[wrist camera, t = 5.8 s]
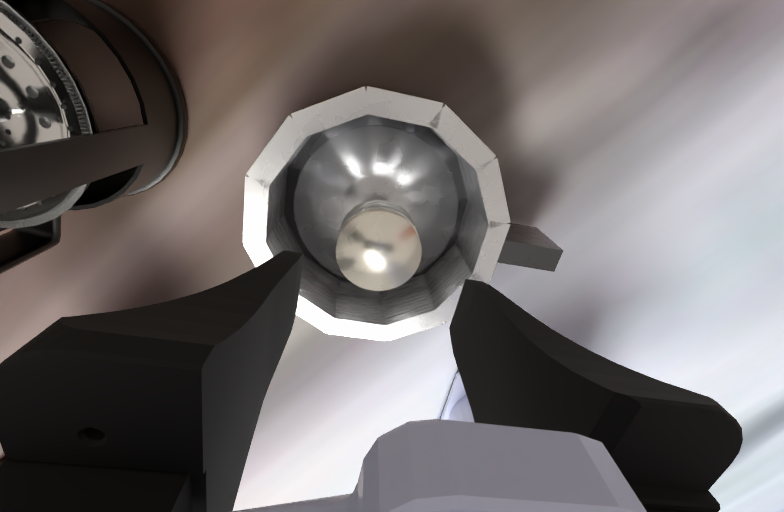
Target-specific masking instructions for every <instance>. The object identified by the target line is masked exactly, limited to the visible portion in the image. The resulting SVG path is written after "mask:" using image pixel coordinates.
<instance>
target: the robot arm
mask: <svg viewBox="0 0 784 512" xmlns="http://www.w3.org/2000/svg"><path fill="white" fill-rule="evenodd" d="M303 254H304V253H299V252H293V251H286V250H284V251H282V252H280V253H278V254H277V255H275V256H274V257H272V258H270V259H269V260H267V261H265V262H264V263H262V264H260V265H259V266H257V267H255V268H253V269H252V270H250V271H248V272H246V273H244V274H242V275H240V276H238V277H236V278H234V279H232V280H230V281H228V282H225V283H223V284H221V285H218V286H216V287H213V288H210V289H208V290H205V291H202V292H199V293H196V294H193V295H189V296H186V297H182V298H178V299H175V300H171V301H168V302H164V303H159V304H155V305H150V306H145V307H140V308H134V309H128V310H122V311H115V312H107V313H99V314H90V315H81V316H72V317H61V318H60V319H59V320H57V321H56V322H54V323H53V324H52V325H50V326H49V327H48V328H46V329H45V330H44V331H43V332H41V333H40V334H39V335H37V336H36V337H35V338H33V339H32V340H31V341H29V342H28V343H27V344H25V345H24V346H23V347H21V348H20V349H19V350H17V351H16V352H15V353H13V354H12V355H11V356H9V357H8V358H7V359H6V360H4V361H3V362H2V363H1V364H0V443H1V446H2V448H3V451H4V454H5V457H6V460H5V461H4V462H3V463H2V464H1V465H0V512H718V511H719V510H720V504H719V503H718V502H717V501H716V499H715V498H714V497H713V496H712V495H711V493H710V492H709V491H708V490H709V489H710V487H711V486H712V485H713V484H714V483H715V482H716V481H717V479H718V478H719V477H720V476H721V475H722V474H723V473H724V471H725V470H726V469H727V468H728V467H729V466H730V464H731V463H732V462H733V460H734V459H735V458H736V456H737V455H738V453H739V451H740V448H741V444H742V440H743V438H742V428H741V427H740V425H739V423H738V422H737V420H736V419H735V418H734V417H733V416H732V415H730V414H729V413H728V412H727V411H726V410H725V409H724V408H723V407H722V406H721V405H720V404H718V403H717V402H716V401H715V400H713V399H711V398H709V397H707V396H704V395H701V394H698V393H695V392H692V391H689V390H686V389H683V388H680V387H677V386H673V385H670V384H667V383H664V382H662V381H659V380H656V379H654V378H651V377H648V376H646V375H643V374H641V373H638V372H636V371H633V370H631V369H628V368H626V367H624V366H621V365H619V364H617V363H615V362H612V361H610V360H608V359H606V358H604V357H602V356H600V355H598V354H596V353H593V352H591V351H589V350H588V349H586V348H584V347H582V346H580V345H578V344H576V343H575V342H573V341H571V340H569V339H568V338H566V337H564V336H562V335H561V334H559V333H557V332H556V331H554V330H552V329H551V328H549V327H548V326H546V325H545V324H543V323H542V322H540V321H539V320H537V319H536V318H534V317H533V316H531V315H530V314H529V313H527V312H526V311H524V310H523V309H522V308H520V307H519V306H518V305H516V304H515V303H514V302H512V301H511V300H510V299H508V298H507V297H505V296H504V295H503V294H501V293H500V292H499V291H497V290H496V289H494V288H493V287H491V286H490V285H488V284H487V283H485V282H483V281H477V280H471V279H465V282H464V285H463V288H462V291H461V294H460V297H459V300H458V303H457V306H456V309H455V312H454V316H453V319H452V322H451V325H450V335H451V342H452V348H453V354H454V357H455V360H456V364H457V367H458V370H459V372H458V373H457V374H456V377H455V379H454V382H453V385H452V388H451V391H450V393H449V396H448V399H447V402H446V405H445V407H444V410H443V413H442V416H441V419H433V420H421V421H410V422H407V423H405V424H403V425H401V426H399V427H397V428H395V429H393V430H391V431H389V432H387V433H385V434H383V435H382V436H380V437H378V438H377V440H376V441H375V443H374V444H373V446H372V447H371V449H370V450H369V452H368V453H367V455H366V456H365V458H364V460H363V464H362V468H361V472H360V475H359V479H358V483H357V485H356V487H355V490H354V492H353V493H352V494H346V495H339V496H332V497H326V498H319V499H312V500H306V501H299V502H292V503H286V504H279V505H272V506H266V507H259V508H252V509H246V510H239V511H233V507H234V503H235V499H236V496H237V492H238V488H239V485H240V481H241V477H242V474H243V470H244V466H245V463H246V459H247V456H248V452H249V449H250V445H251V441H252V438H253V434H254V431H255V427H256V424H257V421H258V417H259V414H260V410H261V407H262V404H263V400H264V398H265V395H266V392H267V389H268V387H269V384H270V382H271V379H272V377H273V375H274V372H275V370H276V367H277V365H278V362H279V360H280V358H281V355H282V353H283V350H284V348H285V345H286V343H287V341H288V338H289V336H290V333H291V330H292V326H293V323H294V319H295V315H296V311H297V307H298V299H299V290H300V281H301V272H302V263H303Z"/></svg>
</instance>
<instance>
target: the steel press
mask: <svg viewBox="0 0 784 512" xmlns="http://www.w3.org/2000/svg"><path fill="white" fill-rule="evenodd" d="M367 125H384V126H391V127H395V128H399V129H402V130H405V131H407V132H410V133H412V134H414V135H416V136H417V137H419V138H421V139H422V140H424V141H425V142H426V143H427V144H429V145H430V146H431V147H432V148H433V149H434V150H435V151H436V152H437V153H438V154H439V155H440V157H441V158H442V159H443V161H444V162H445V164H446V165H447V167H448V169H449V171H450V173H451V175H452V177H453V180H454V183H455V186H456V191H457V197H458V212H457V219H456V224H455V228H454V230H453V233H452V236H451V238H450V240H449V242H448V243H447V245H446V247H445V248H444V250H443V251H442V252H441V254H440V255H439V256H438V257H437V258H436V259H435V260H434V261H433V262H432V263H431V264H430V265H428V266H427V267H426V268H424V269H423V270H421V271H420V272H418V273H416V274H414V275H413V276H412V277H411V278H410V279H409V280H408V281H406V282H405V283H403V284H402V285H400V286H398V287H396V288H393V289H389V290H384V291H373V290H367V289H364V288H361V287H359V286H357V285H355V284H353V283H352V282H351V281H349V280H348V279H346V278H343V277H341V276H339V275H337V274H335V273H333V272H332V271H330V270H329V269H327V268H326V267H324V266H323V265H322V264H321V263H320V262H318V260H317V259H316V258H315V257H314V256H313V255H312V254H311V253H310V251H309V250H308V249H307V247H306V246H305V244H304V242H303V241H302V239H301V237H300V234H299V232H298V229H297V225H296V221H295V216H294V194H295V188H296V185H297V181H298V178H299V176H300V174H301V172H302V170H303V167H304V166H305V164H306V163H307V161H308V160H309V158H310V157H311V156H312V155H313V154H314V152H315V151H316V150H317V149H318V148H319V147H320V146H321V145H323V144H324V143H325V142H326V141H327V140H329V139H331V138H332V137H334V136H335V135H337V134H339V133H341V132H344V131H346V130H349V129H352V128H356V127H360V126H367ZM243 243H245V244H244V247H245V249H246V251H247V252H248V254H249V256H250V258H251V260H252V261H253V263H254V265H255V267H257V266H259V265H260V264H262V263H264V262H265V261H267V260H269V259H270V258H272V257H274V256H275V255H277V254H278V253H280V252H282V251H284V250H286V251H293V252H299V253H304V254H303V263H302V272H301V281H300V290H299V299H298V307H297V311H296V314H297V315H298V316H300V317H301V318H303V319H305V320H306V321H308V322H309V323H311V324H312V325H314V326H315V327H317V328H319V329H320V330H322V331H323V332H325V333H326V332H327V331H328V334H333V335H341V336H349V337H356V338H364V339H372V340H380V341H386V339H387V340H388V341H390V340H393V339H397V338H400V337H403V336H406V335H410V334H413V333H416V332H420V331H423V330H426V329H429V328H433V327H436V326H439V325H442V324H443V322H445V323H446V322H447V321H448V320H449V319H450V318H452V317H453V316H454V312H455V309H456V306H457V303H458V300H459V297H460V294H461V291H462V288H463V285H464V282H465V279H471V280H477V281H483V282H485V283H487V284H489V283H488V282H490V280H491V278H492V275H493V272H494V269H495V266H496V264H497V262H499V263H505V264H511V265H517V266H523V267H529V268H535V269H541V270H547V271H553V272H554V271H555V268H556V266H557V264H558V261H559V259H560V257H561V254H562V252H563V250H562V249H561V248H560V247H558V246H557V245H556V244H555V243H554V242H553V241H552V240H550V239H549V238H548V237H547V236H546V235H545V234H543V233H542V232H541V231H540V230H539V229H538V228H535V227H530V226H524V225H519V224H513V223H510V217H509V212H508V207H507V202H506V197H505V192H504V187H503V183H502V178H501V173H500V168H499V163H498V158H496V155H495V154H494V153H493V152H492V151H491V150H490V149H489V148H488V147H487V146H486V145H485V144H484V143H483V142H482V141H481V140H480V139H479V138H478V137H477V136H476V135H475V134H474V133H473V132H472V131H471V130H470V129H469V128H468V127H467V126H466V125H465V124H464V123H463V121H462V120H461V119H460V118H459V117H458V116H457V115H456V114H455V113H454V112H453V111H452V110H451V109H450V108H449V107H448V106H447V105H446V104H443V103H441V102H437V101H434V100H430V99H426V98H421V97H417V96H412V95H408V94H403V93H399V92H394V91H390V90H385V89H381V88H376V87H372V86H367V89H366V86H363V87H361V88H358V89H355V90H353V91H350V92H347V93H345V94H342V95H339V96H337V97H334V98H331V99H328V100H326V101H323V102H320V103H318V104H315V105H312V106H310V107H307V108H304V109H302V110H299V111H296V112H294V113H291V115H289V116H288V117H287V118H286V120H285V121H284V123H283V124H282V125H281V127H280V128H279V129H278V131H277V132H276V134H275V135H274V136H273V138H272V139H271V140H270V142H269V143H268V145H267V146H266V147H265V149H264V150H263V152H262V153H261V154H260V156H259V157H258V158H257V160H256V161H255V163H254V164H253V165H252V167H251V168H250V169H249V171H248V172H247V176H245V197H244V224H243Z"/></svg>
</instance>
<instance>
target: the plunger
mask: <svg viewBox="0 0 784 512" xmlns="http://www.w3.org/2000/svg"><path fill="white" fill-rule="evenodd" d="M457 212H458V197H457V191H456V186H455V183H454V180H453V177H452V175H451V173H450V171H449V169H448V167H447V165H446V164H445V162H444V161H443V159H442V158H441V157H440V155H439V154H438V153H437V152H436V151H435V150H434V149H433V148H432V147H431V146H430V145H429V144H427V143H426V142H425V141H424V140H422V139H421V138H419V137H417V136H416V135H414V134H412V133H410V132H407V131H405V130H402V129H399V128H395V127H391V126H384V125H367V126H360V127H356V128H352V129H349V130H346V131H344V132H341V133H339V134H337V135H335V136H334V137H332V138H331V139H329V140H327V141H326V142H325V143H324V144H323V145H321V146H320V147H319V148H318V149H317V150H316V151H315V152H314V154H313V155H312V156H311V157H310V158H309V160H308V161H307V163H306V164H305V166H304V167H303V170H302V172H301V174H300V176H299V178H298V181H297V185H296V188H295V194H294V216H295V221H296V225H297V229H298V232H299V234H300V237H301V239H302V241H303V242H304V244H305V246H306V247H307V249H308V250H309V251H310V253H311V254H312V255H313V256H314V257H315V258H316V259H317V260H318V262H320V263H321V264H322V265H323V266H324V267H326V268H327V269H329V270H330V271H332V272H333V273H335V274H337V275H339V276H341V277H343V278H346V279H348V280H349V281H351V282H352V283H353V284H355V285H357V286H359V287H361V288H364V289H367V290H373V291H384V290H389V289H393V288H396V287H398V286H400V285H402V284H403V283H405V282H406V281H408V280H409V279H410V278H411V277H412V276H413V275H414V274H416V273H418V272H420V271H421V270H423V269H424V268H426V267H427V266H428V265H430V264H431V263H432V262H433V261H434V260H435V259H436V258H437V257H438V256H439V255H440V254H441V252H442V251H443V250H444V248H445V247H446V245H447V243H448V242H449V240H450V238H451V236H452V233H453V230H454V228H455V224H456V219H457Z"/></svg>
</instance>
